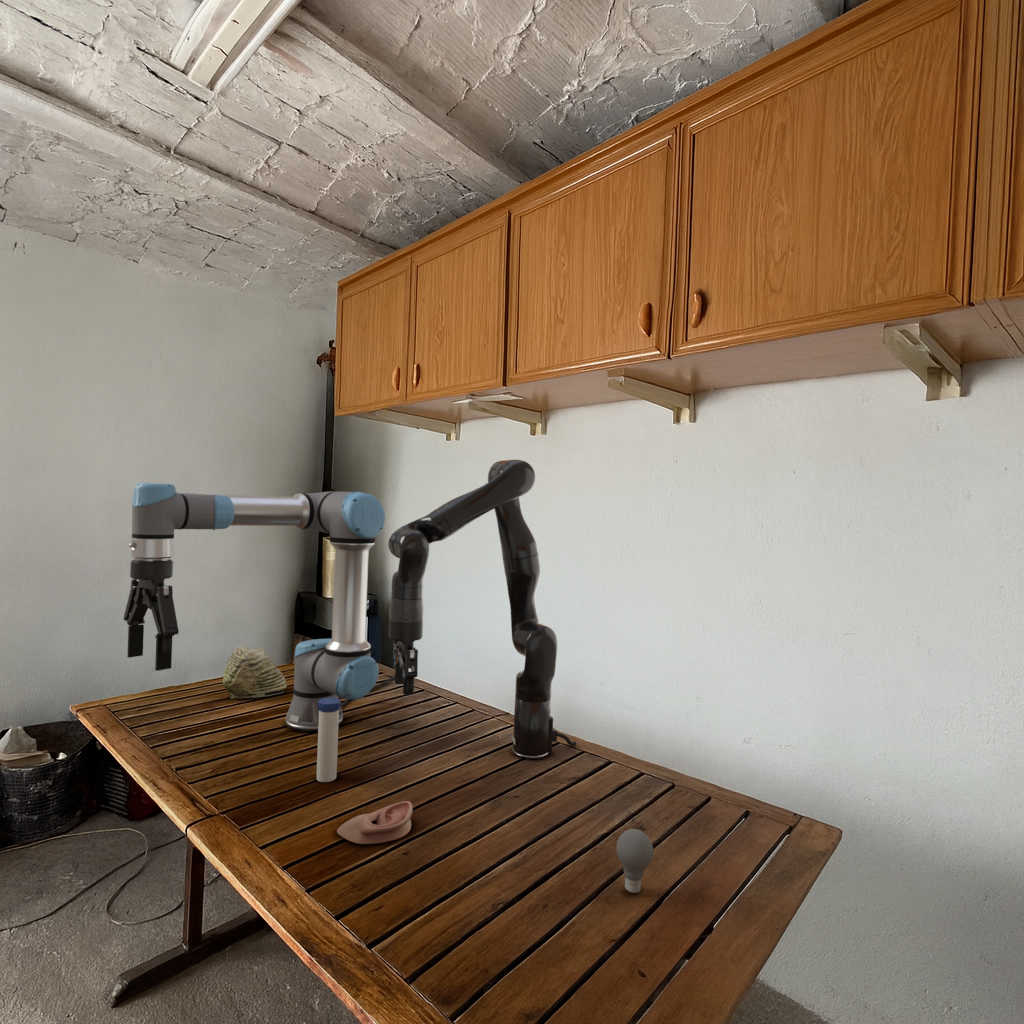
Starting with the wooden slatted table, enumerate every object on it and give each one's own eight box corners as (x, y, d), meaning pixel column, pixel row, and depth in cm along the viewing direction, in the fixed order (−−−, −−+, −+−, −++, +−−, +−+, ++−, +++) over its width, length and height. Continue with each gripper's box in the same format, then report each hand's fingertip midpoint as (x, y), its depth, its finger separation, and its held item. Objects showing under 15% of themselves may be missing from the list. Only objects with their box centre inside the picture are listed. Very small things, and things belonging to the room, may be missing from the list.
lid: (344, 707, 144) (345, 699, 144) (331, 713, 139) (331, 705, 139) (327, 703, 146) (327, 696, 146) (313, 709, 141) (313, 702, 141)
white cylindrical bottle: (340, 776, 144) (343, 701, 144) (328, 783, 140) (331, 707, 140) (324, 772, 146) (327, 698, 145) (312, 779, 141) (315, 703, 141)
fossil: (218, 695, 195) (220, 647, 195) (278, 685, 208) (279, 640, 207) (228, 703, 189) (230, 653, 188) (289, 692, 201) (290, 645, 201)
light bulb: (610, 879, 108) (613, 822, 108) (644, 879, 109) (647, 822, 109) (619, 902, 102) (622, 840, 102) (655, 901, 103) (658, 840, 103)
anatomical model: (329, 818, 117) (357, 790, 128) (328, 839, 117) (356, 810, 128) (397, 828, 114) (419, 799, 126) (396, 850, 114) (418, 819, 126)
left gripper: (108, 554, 134) (104, 654, 134) (159, 565, 118) (155, 678, 119) (146, 552, 140) (143, 648, 140) (199, 563, 124) (195, 671, 124)
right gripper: (430, 623, 137) (428, 697, 138) (415, 611, 150) (412, 679, 151) (396, 624, 134) (393, 700, 135) (383, 612, 147) (381, 681, 148)
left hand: (148, 662), depth 129 cm, fingers open, 13 cm apart
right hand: (403, 689), depth 143 cm, fingers open, 8 cm apart
